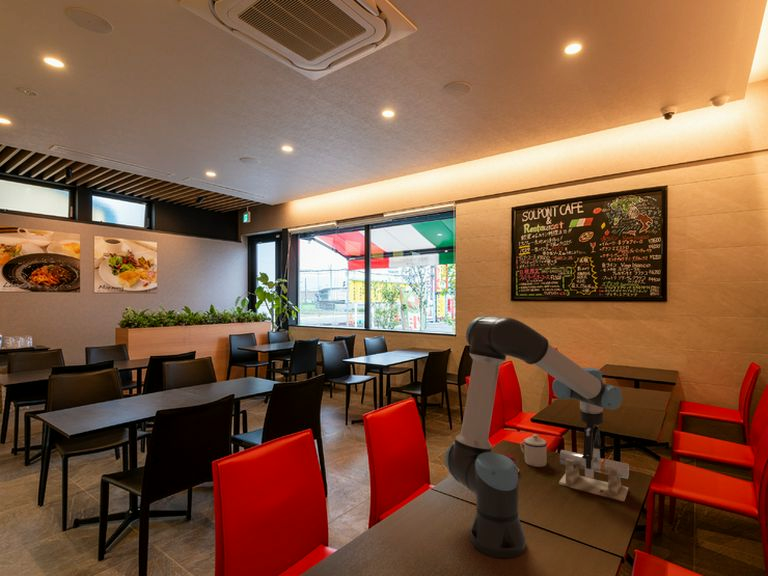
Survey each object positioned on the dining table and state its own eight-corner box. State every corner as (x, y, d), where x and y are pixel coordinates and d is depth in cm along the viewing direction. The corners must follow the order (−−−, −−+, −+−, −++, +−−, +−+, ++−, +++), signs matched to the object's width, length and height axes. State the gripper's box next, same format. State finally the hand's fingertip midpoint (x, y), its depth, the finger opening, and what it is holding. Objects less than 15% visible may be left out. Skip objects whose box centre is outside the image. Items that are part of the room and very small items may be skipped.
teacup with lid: (552, 464, 169) (551, 435, 169) (538, 469, 164) (537, 440, 164) (527, 454, 179) (527, 428, 179) (514, 459, 174) (513, 432, 174)
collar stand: (559, 484, 151) (558, 458, 151) (566, 474, 159) (565, 450, 159) (624, 501, 138) (623, 473, 138) (628, 490, 146) (627, 463, 146)
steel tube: (559, 462, 153) (560, 448, 155) (562, 464, 156) (563, 451, 158) (626, 477, 139) (627, 462, 141) (628, 480, 143) (629, 465, 145)
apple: (520, 475, 159) (520, 458, 159) (499, 474, 161) (499, 457, 161) (518, 467, 167) (517, 451, 167) (497, 465, 168) (497, 449, 169)
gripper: (596, 420, 137) (597, 486, 137) (608, 405, 156) (610, 463, 155) (572, 416, 142) (573, 480, 142) (587, 402, 160) (588, 458, 160)
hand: (592, 471), depth 149 cm, fingers open, 11 cm apart
